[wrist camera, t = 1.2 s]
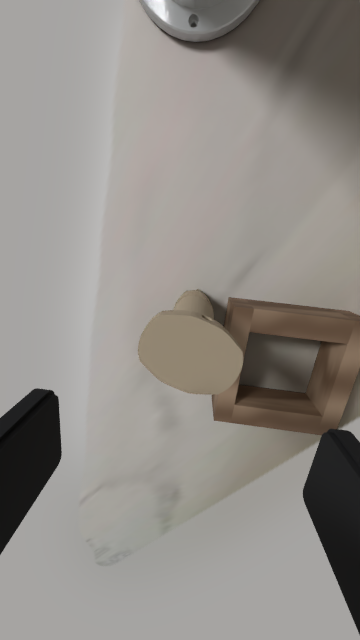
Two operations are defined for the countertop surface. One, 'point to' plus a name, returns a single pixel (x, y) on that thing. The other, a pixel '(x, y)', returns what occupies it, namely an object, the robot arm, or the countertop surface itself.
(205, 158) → the countertop surface
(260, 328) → the square frame
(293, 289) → the countertop surface
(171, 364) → the handle
